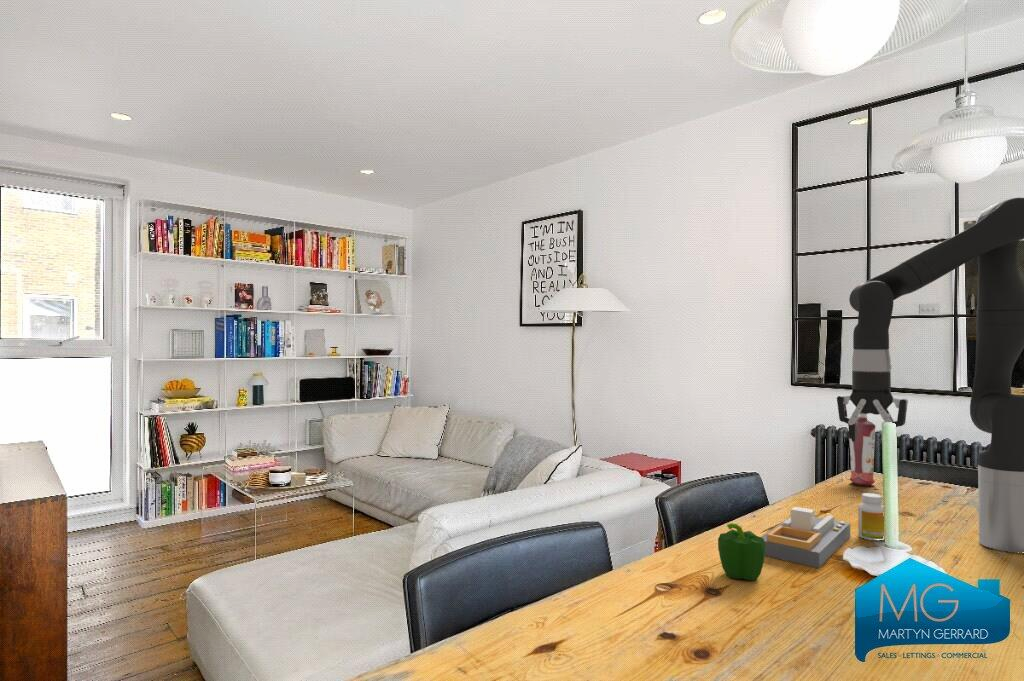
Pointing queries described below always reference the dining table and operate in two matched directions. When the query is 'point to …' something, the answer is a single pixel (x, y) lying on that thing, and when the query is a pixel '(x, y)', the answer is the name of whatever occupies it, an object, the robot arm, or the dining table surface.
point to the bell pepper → (741, 553)
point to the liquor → (863, 453)
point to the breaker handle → (802, 518)
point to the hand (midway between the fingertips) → (871, 442)
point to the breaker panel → (806, 541)
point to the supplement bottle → (871, 517)
